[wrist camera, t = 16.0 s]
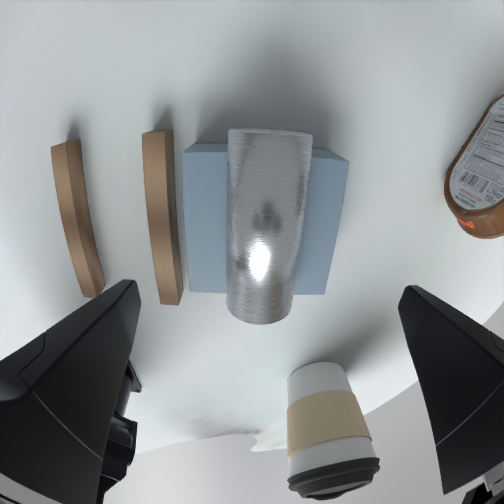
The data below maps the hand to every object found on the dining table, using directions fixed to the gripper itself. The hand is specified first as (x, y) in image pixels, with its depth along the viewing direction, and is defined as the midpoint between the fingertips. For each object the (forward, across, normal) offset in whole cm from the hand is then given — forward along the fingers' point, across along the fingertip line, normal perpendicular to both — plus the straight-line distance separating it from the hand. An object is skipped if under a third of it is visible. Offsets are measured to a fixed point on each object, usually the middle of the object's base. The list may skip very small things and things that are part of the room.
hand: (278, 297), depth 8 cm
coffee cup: (+12, -8, +22) cm, 26 cm away
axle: (+7, 0, +1) cm, 7 cm away
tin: (+12, -18, -6) cm, 23 cm away
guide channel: (+12, +10, +2) cm, 16 cm away
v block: (+12, 0, +2) cm, 12 cm away
